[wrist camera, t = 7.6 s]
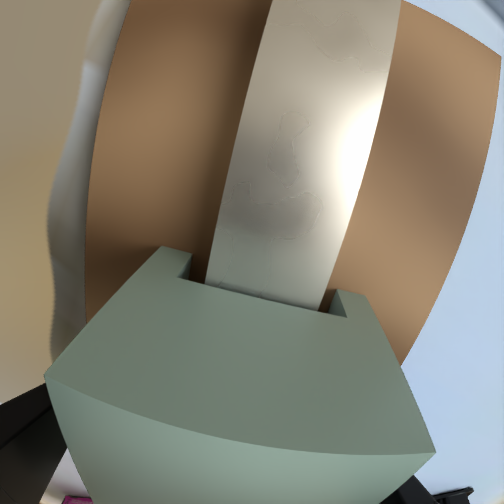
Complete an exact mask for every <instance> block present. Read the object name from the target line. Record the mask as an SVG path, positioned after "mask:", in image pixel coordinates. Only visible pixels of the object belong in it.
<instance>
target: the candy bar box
mask: <svg viewBox="0 0 504 504" xmlns="http://www.w3.org/2000/svg"><path fill="white" fill-rule="evenodd" d="M62 504H94V503H93V501H92V499H91V498H81V497H73V496H65V498H64V500H63V502H62Z"/></svg>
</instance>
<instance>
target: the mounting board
mask: <svg viewBox="0 0 504 504" xmlns="http://www.w3.org/2000/svg"><path fill="white" fill-rule="evenodd" d="M272 1H273V0H131V3H130V6H129V9H128V11H127V14H126V17H125V20H124V23H123V26H122V29H121V32H120V35H119V39H118V42H117V45H116V49H115V52H114V56H113V59H112V63H111V67H110V70H109V74H108V78H107V83H106V87H105V91H104V96H103V100H102V105H101V110H100V115H99V120H98V126H97V131H96V137H95V144H94V150H93V157H92V165H91V173H90V182H89V192H88V203H87V217H86V236H85V305H86V324H88V322H89V321H90V320H91V319H92V318H93V317H94V316H95V315H96V314H97V312H98V311H99V310H100V309H101V308H102V307H103V306H104V305H105V304H106V303H107V302H108V301H109V299H110V298H111V297H112V296H113V295H114V294H115V293H116V292H117V291H118V290H119V289H120V288H121V287H122V286H123V285H124V284H125V282H126V281H127V280H128V279H129V278H130V277H131V276H132V275H133V274H134V273H135V272H136V271H137V270H138V269H139V268H140V267H141V266H142V265H143V264H144V263H145V262H146V261H147V260H148V259H149V258H150V257H151V256H152V255H153V254H154V253H155V252H156V251H157V250H158V249H159V248H160V247H161V246H165V247H169V248H173V249H176V250H180V251H184V252H188V253H192V260H191V266H190V272H189V278H188V280H189V281H193V282H196V283H200V284H205V279H206V274H207V269H208V264H209V259H210V254H211V249H212V244H213V239H214V234H215V229H216V224H217V220H218V215H219V210H220V206H221V201H222V197H223V192H224V188H225V183H226V179H227V174H228V170H229V166H230V161H231V157H232V153H233V148H234V144H235V140H236V136H237V132H238V128H239V123H240V119H241V115H242V111H243V107H244V103H245V99H246V95H247V92H248V88H249V84H250V80H251V76H252V72H253V69H254V65H255V61H256V57H257V54H258V50H259V46H260V43H261V39H262V36H263V32H264V29H265V25H266V21H267V18H268V15H269V11H270V8H271V4H272ZM500 69H501V56H500V55H498V54H497V53H496V52H494V51H493V50H491V49H490V48H488V47H487V46H485V45H484V44H482V43H481V42H479V41H478V40H476V39H475V38H473V37H472V36H470V35H468V34H467V33H465V32H464V31H462V30H460V29H459V28H457V27H455V26H453V25H452V24H450V23H448V22H446V21H445V20H443V19H441V18H439V17H437V16H435V15H433V14H431V13H429V12H427V11H425V10H423V9H421V8H419V7H417V6H415V5H413V4H411V3H409V2H406V1H404V0H401V6H400V13H399V19H398V25H397V31H396V37H395V43H394V48H393V54H392V59H391V64H390V69H389V74H388V78H387V83H386V88H385V92H384V97H383V101H382V105H381V109H380V114H379V118H378V122H377V126H376V130H375V134H374V138H373V141H372V145H371V149H370V153H369V156H368V160H367V164H366V167H365V171H364V174H363V178H362V181H361V185H360V188H359V191H358V195H357V198H356V201H355V204H354V208H353V211H352V214H351V217H350V220H349V223H348V227H347V230H346V233H345V236H344V239H343V242H342V245H341V248H340V251H339V253H338V256H337V259H336V262H335V265H334V268H333V271H332V273H331V276H330V279H329V282H328V284H327V287H326V290H325V292H324V295H323V298H322V300H321V303H320V306H319V308H318V311H317V312H322V313H326V314H327V313H328V310H329V308H330V305H331V303H332V300H333V297H334V295H335V292H336V290H337V289H339V290H344V291H348V292H352V293H357V294H361V295H365V296H366V298H367V299H368V301H369V303H370V305H371V307H372V309H373V311H374V313H375V315H376V317H377V319H378V321H379V323H380V325H381V327H382V329H383V331H384V333H385V335H386V337H387V339H388V341H389V343H390V345H391V348H392V350H393V352H394V354H395V356H396V358H397V360H398V362H399V365H400V366H401V365H402V363H403V361H404V360H405V358H406V356H407V355H408V353H409V351H410V349H411V348H412V346H413V344H414V342H415V340H416V339H417V337H418V335H419V333H420V331H421V329H422V327H423V325H424V324H425V322H426V320H427V318H428V316H429V314H430V312H431V310H432V308H433V306H434V303H435V301H436V299H437V297H438V295H439V293H440V291H441V288H442V286H443V284H444V282H445V280H446V277H447V275H448V273H449V270H450V268H451V265H452V263H453V261H454V258H455V256H456V253H457V250H458V248H459V245H460V243H461V240H462V237H463V234H464V232H465V229H466V226H467V223H468V220H469V217H470V214H471V211H472V208H473V205H474V202H475V198H476V195H477V191H478V188H479V184H480V181H481V177H482V173H483V169H484V165H485V161H486V157H487V153H488V148H489V144H490V139H491V134H492V128H493V123H494V117H495V111H496V104H497V97H498V89H499V80H500Z"/></svg>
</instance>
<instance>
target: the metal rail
mask: <svg viewBox="0 0 504 504" xmlns="http://www.w3.org/2000/svg"><path fill="white" fill-rule="evenodd" d="M400 6H401V0H273V1H272V4H271V8H270V11H269V15H268V18H267V21H266V25H265V29H264V32H263V36H262V39H261V43H260V46H259V50H258V54H257V57H256V61H255V65H254V69H253V72H252V76H251V80H250V84H249V88H248V92H247V95H246V99H245V103H244V107H243V111H242V115H241V119H240V123H239V128H238V132H237V136H236V140H235V144H234V148H233V153H232V157H231V161H230V166H229V170H228V174H227V179H226V183H225V188H224V192H223V197H222V201H221V206H220V210H219V215H218V220H217V224H216V229H215V234H214V239H213V244H212V249H211V254H210V259H209V264H208V269H207V274H206V279H205V284H204V285H208V286H212V287H216V288H220V289H224V290H228V291H232V292H236V293H240V294H244V295H248V296H252V297H256V298H260V299H265V300H269V301H273V302H277V303H282V304H286V305H290V306H295V307H299V308H304V309H308V310H313V311H318V308H319V306H320V303H321V300H322V298H323V295H324V292H325V290H326V287H327V284H328V282H329V279H330V276H331V273H332V271H333V268H334V265H335V262H336V259H337V256H338V253H339V251H340V248H341V245H342V242H343V239H344V236H345V233H346V230H347V227H348V223H349V220H350V217H351V214H352V211H353V208H354V204H355V201H356V198H357V195H358V191H359V188H360V185H361V181H362V178H363V174H364V171H365V167H366V164H367V160H368V156H369V153H370V149H371V145H372V141H373V138H374V134H375V130H376V126H377V122H378V118H379V114H380V109H381V105H382V101H383V97H384V92H385V88H386V83H387V78H388V74H389V69H390V64H391V59H392V54H393V48H394V43H395V37H396V31H397V25H398V19H399V13H400Z"/></svg>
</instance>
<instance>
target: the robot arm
mask: <svg viewBox="0 0 504 504" xmlns="http://www.w3.org/2000/svg"><path fill="white" fill-rule="evenodd" d="M66 449H67V445H66V442H65V440H64V437H63V434H62V432H61V429H60V426H59V423H58V421H57V418H56V415H55V412H54V409H53V406H52V402H51V399H50V396H49V393H48V389H47V386H46V383H44V384H42V385H40V386H38V387H36V388H34V389H32V390H30V391H28V392H26V393H24V394H22V395H20V396H18V397H16V398H14V399H11V400H10V401H7V402H5V403H3V404H1V405H0V504H39V502H40V500H41V498H42V496H43V494H44V492H45V490H46V488H47V486H48V484H49V482H50V480H51V478H52V476H53V474H54V472H55V470H56V468H57V466H58V464H59V462H60V461H61V459H62V457H63V455H64V453H65V451H66ZM473 492H474V490H473V488H469V489H465V490H461V491H457V492H453V493H448V494H444V495H439V496H433V497H432V495H431V494H430V493H429V492H428V491H427V490H426V488H425V487H424V486H423V485H422V484H421V483H420V482H419V480H418V479H417V478H416V477H415V476H414V475H412V476H411V477H410V478H409V479H408V480H407V481H406V482H404V483H403V484H402V485H401V486H400V487H399V488H397V489H396V490H395V491H394V492H393V493H391V494H390V495H389V496H388V497H387V498H385V499H384V500H383V501H382V502H380V503H379V504H470V503H469V500H468V496H469V495H470V494H471V493H473Z"/></svg>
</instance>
